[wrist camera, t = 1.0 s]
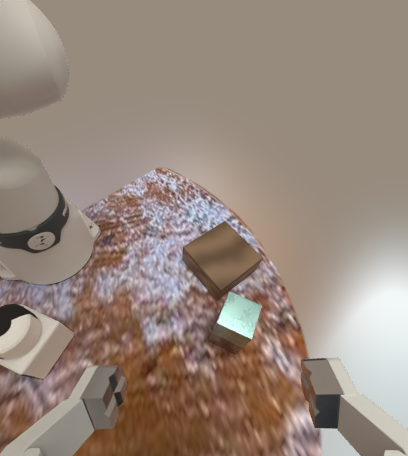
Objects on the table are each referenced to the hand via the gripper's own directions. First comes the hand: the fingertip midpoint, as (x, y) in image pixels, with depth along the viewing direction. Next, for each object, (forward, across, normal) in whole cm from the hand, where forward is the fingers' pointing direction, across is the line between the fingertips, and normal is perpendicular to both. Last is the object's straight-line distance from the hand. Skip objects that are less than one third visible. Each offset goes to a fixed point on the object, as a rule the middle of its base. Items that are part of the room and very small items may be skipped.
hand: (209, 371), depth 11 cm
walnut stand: (+38, +2, +14) cm, 40 cm away
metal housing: (+26, +1, +22) cm, 35 cm away
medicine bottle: (+21, +30, +18) cm, 41 cm away
